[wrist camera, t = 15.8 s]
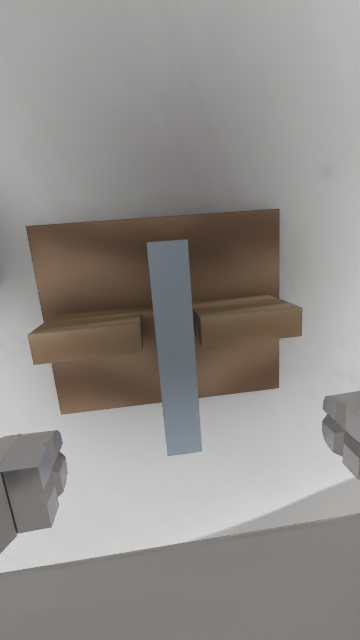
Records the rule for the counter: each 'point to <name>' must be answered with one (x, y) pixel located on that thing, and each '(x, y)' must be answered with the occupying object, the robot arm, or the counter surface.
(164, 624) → the robot arm
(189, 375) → the slotted plate
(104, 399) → the rail stand
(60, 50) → the counter surface
